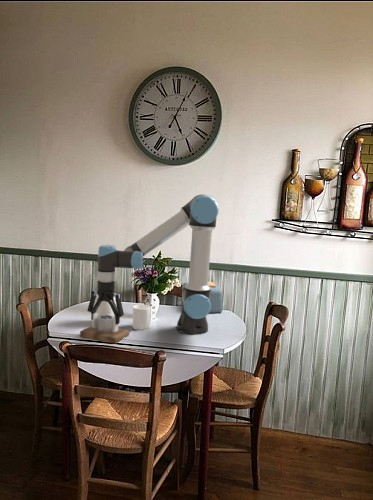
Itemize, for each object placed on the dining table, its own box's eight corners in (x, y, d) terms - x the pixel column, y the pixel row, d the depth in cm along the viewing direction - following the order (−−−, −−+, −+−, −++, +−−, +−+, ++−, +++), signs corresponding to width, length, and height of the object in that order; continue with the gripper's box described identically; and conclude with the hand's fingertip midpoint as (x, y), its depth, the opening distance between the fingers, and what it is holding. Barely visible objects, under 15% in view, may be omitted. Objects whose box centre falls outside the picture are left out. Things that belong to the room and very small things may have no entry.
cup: (130, 329, 219) (130, 308, 217) (137, 321, 230) (138, 302, 229) (147, 330, 217) (147, 310, 216) (153, 323, 229) (154, 303, 227)
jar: (110, 327, 219) (111, 296, 217) (90, 325, 221) (90, 294, 219) (118, 321, 230) (119, 291, 227) (98, 318, 232) (99, 289, 229)
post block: (129, 335, 209) (129, 317, 208) (115, 343, 198) (116, 324, 197) (94, 329, 216) (95, 311, 215) (80, 336, 205) (80, 318, 203)
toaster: (187, 306, 264) (188, 278, 262) (214, 305, 268) (215, 278, 266) (195, 314, 248) (196, 285, 246) (223, 313, 253) (225, 285, 250)
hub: (118, 329, 210) (118, 316, 209) (109, 334, 203) (109, 320, 202) (103, 326, 213) (103, 313, 212) (93, 331, 205) (94, 318, 204)
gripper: (133, 282, 203) (131, 330, 206) (89, 275, 211) (88, 323, 214) (124, 285, 196) (123, 335, 199) (79, 278, 204) (78, 327, 207)
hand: (105, 329), depth 207 cm, fingers open, 10 cm apart
